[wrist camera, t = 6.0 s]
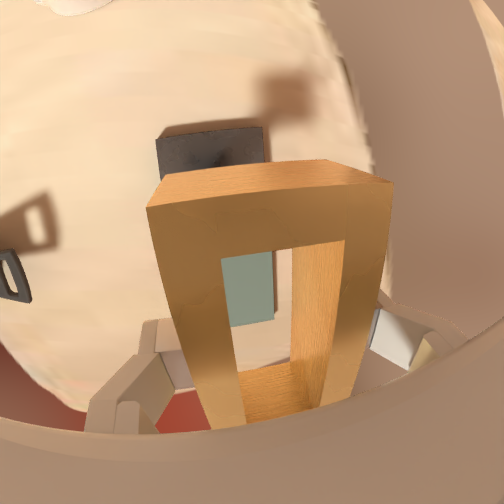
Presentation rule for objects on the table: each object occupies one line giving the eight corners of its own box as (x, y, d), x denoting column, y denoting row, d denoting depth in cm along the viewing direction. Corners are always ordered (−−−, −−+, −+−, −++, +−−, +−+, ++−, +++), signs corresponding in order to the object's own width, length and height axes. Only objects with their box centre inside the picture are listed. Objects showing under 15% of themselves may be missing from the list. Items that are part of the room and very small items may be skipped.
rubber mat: (171, 252, 35) (170, 256, 34) (269, 238, 37) (271, 241, 36) (189, 329, 41) (189, 333, 40) (272, 315, 43) (274, 319, 42)
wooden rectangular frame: (165, 174, 8) (145, 207, 5) (325, 159, 8) (393, 182, 5) (212, 391, 12) (222, 453, 9) (312, 371, 13) (338, 426, 10)
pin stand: (157, 139, 29) (120, 147, 14) (259, 127, 30) (316, 127, 16) (171, 234, 34) (158, 315, 19) (264, 221, 36) (315, 289, 21)
